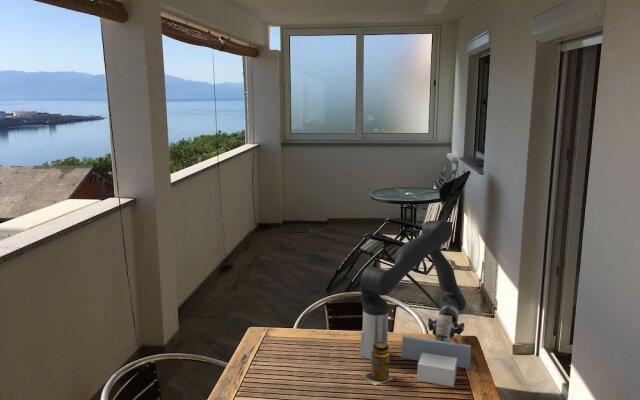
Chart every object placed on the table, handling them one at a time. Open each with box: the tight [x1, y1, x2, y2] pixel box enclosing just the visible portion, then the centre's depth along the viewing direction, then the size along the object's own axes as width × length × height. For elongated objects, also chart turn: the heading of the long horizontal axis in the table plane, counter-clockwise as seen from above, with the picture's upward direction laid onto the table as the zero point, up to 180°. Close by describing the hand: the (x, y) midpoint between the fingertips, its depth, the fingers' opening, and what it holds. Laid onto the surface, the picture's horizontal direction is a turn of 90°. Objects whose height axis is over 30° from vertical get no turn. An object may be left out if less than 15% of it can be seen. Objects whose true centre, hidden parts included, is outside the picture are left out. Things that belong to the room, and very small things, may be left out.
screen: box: [401, 334, 472, 369], centre depth 195 cm, size 24×2×8 cm, turn 71°
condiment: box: [361, 342, 395, 386], centre depth 183 cm, size 7×8×12 cm
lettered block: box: [435, 313, 452, 342], centre depth 198 cm, size 5×5×12 cm
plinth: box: [416, 353, 458, 388], centre depth 184 cm, size 12×9×6 cm
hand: (442, 334), depth 196 cm, fingers closed on lettered block, 5 cm apart
